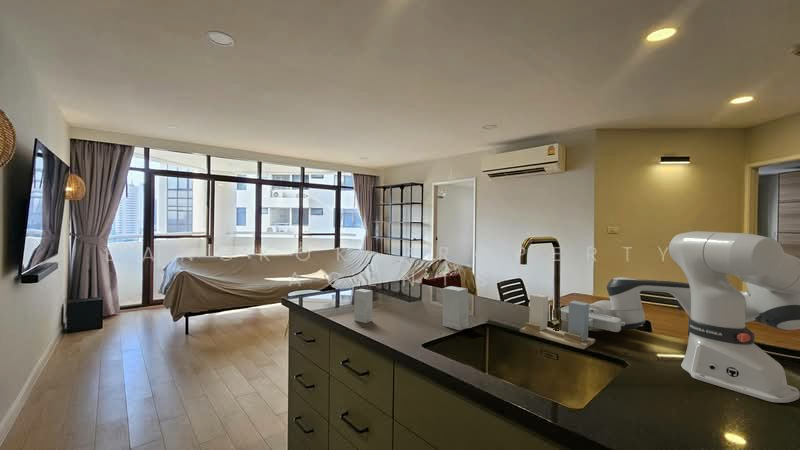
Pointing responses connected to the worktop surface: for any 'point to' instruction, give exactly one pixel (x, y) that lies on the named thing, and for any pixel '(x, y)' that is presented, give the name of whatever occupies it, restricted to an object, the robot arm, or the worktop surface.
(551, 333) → the switch base
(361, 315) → the skincare box
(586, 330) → the slate blue key
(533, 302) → the ivory key
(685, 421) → the worktop surface
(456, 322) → the skincare box
